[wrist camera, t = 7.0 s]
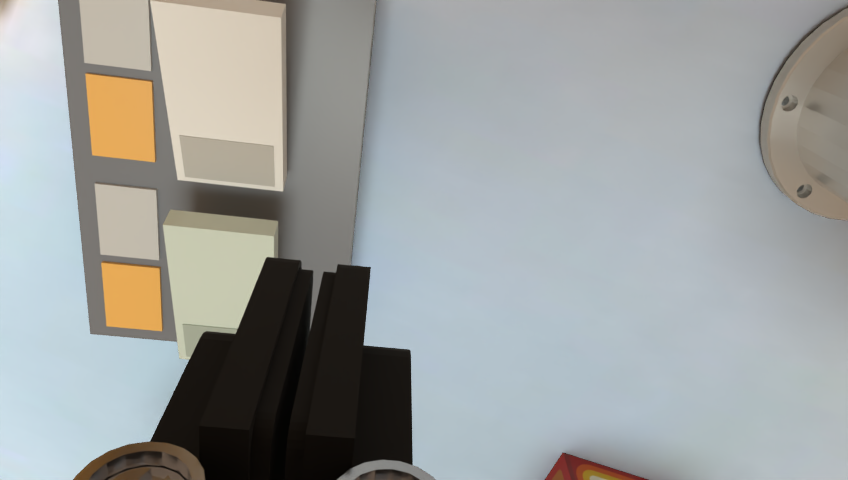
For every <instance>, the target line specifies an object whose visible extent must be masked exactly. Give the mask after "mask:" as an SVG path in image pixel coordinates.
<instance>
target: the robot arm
mask: <svg viewBox="0 0 848 480" xmlns="http://www.w3.org/2000/svg"><path fill="white" fill-rule="evenodd" d="M784 98H785V100H784ZM783 100H784V101H783ZM782 101H783V102H782ZM761 149H762V155H763V160H764V164H765V166H766V168H767V170H768V173H769V175H770V177H771V179H772V180H773V182H774V183H775V184H776V185H777V187H778V188H779V189H780V191H781V192H782V193H783V194H785V195H786V196H787V197H788V198H790V199H791V200H792V201H793V202H795V203H796V204H797V205H799V206H801V207H802V208H804V209H806V210H807V211H809V212H811V213H814V214H817V215H820V216H823V217H826V218H829V219H838V220H847V221H848V8H846V9H844V10H843V11H841V12H840V13H838V14H837V15H835V16H834V17H832V18H831V19H829V20H827V21H826V22H824V23H823V24H822V25H821V26H819V27H818V28H817V29H816V30H815V31H814V32H813V33H812V34H810V35H809V36H808V37H807V38H806V39H805V40H804V41H803V42H802V43H801V44H800V45H799V47H798V48H797V49H796V50H795V51H794V53H793V54H792V55H791V56H790V57H789V59H788V60H787V61H786V63H785V64H784V66H783V68H782V69H781V71H780V73H779V74H778V76H777V78H776V79H775V81H774V83H773V86H772V88H771V91H770V93H769V95H768V98H767V100H766V103H765V107H764V112H763V117H762V121H761ZM370 269H371V267H362V266H352V265H342V264H338V265H337V270H336V273H335V272H325V271H324V272H323V276H322V280H321V285H320V289H319V294H318V298H317V302H316V307H315V311H314V316H313V320H312V325H311V329H310V321H311V306H312V291H313V270H305V269H302V262H301V260H292V259H283V258H273V257H267V258H266V259H265V262H264V264H263V267H262V269H261V272H260V274H259V277H258V279H257V282H256V284H255V287H254V289H253V292H252V294H251V297H250V299H249V302H248V304H247V307H246V309H245V312H244V314H243V317H242V319H241V322H240V324H239V327H238V329H237V332H236V334H232V333H221V332H210V331H206V332H204V333H203V334H202V336H201V337H200V339H199V341H198V343H197V345H196V347H195V349H194V351H193V353H192V356H191V358H190V360H189V362H188V364H187V366H186V368H185V370H184V372H183V374H182V376H181V378H180V381H179V383H178V385H177V387H176V389H175V391H174V393H173V395H172V397H171V399H170V401H169V403H168V406H167V408H166V410H165V412H164V414H163V416H162V418H161V420H160V422H159V424H158V426H157V428H156V431H155V433H154V435H153V437H152V439H151V441H150V442H142V443H135V444H128V445H125V446H122V447H120V448H117V449H114V450H111V451H108V452H107V453H105V454H103V455H101V456H100V457H98V458H96V459H95V460H93V461H91V462H90V463H89V464H88V465H87V466H86V467H85V468H84V469H83V470H82V471H81V472H79V473H78V474H77V475H76V477H75V478H74V479H73V480H435V478H434V477H433V476H431V475H430V474H428V473H427V472H425V471H423V470H422V469H420V468H419V467H416V466H413V465H412V403H411V353H410V350H407V349H396V348H385V347H374V346H363V344H364V333H365V322H366V311H367V301H368V290H369V279H370Z"/></svg>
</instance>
